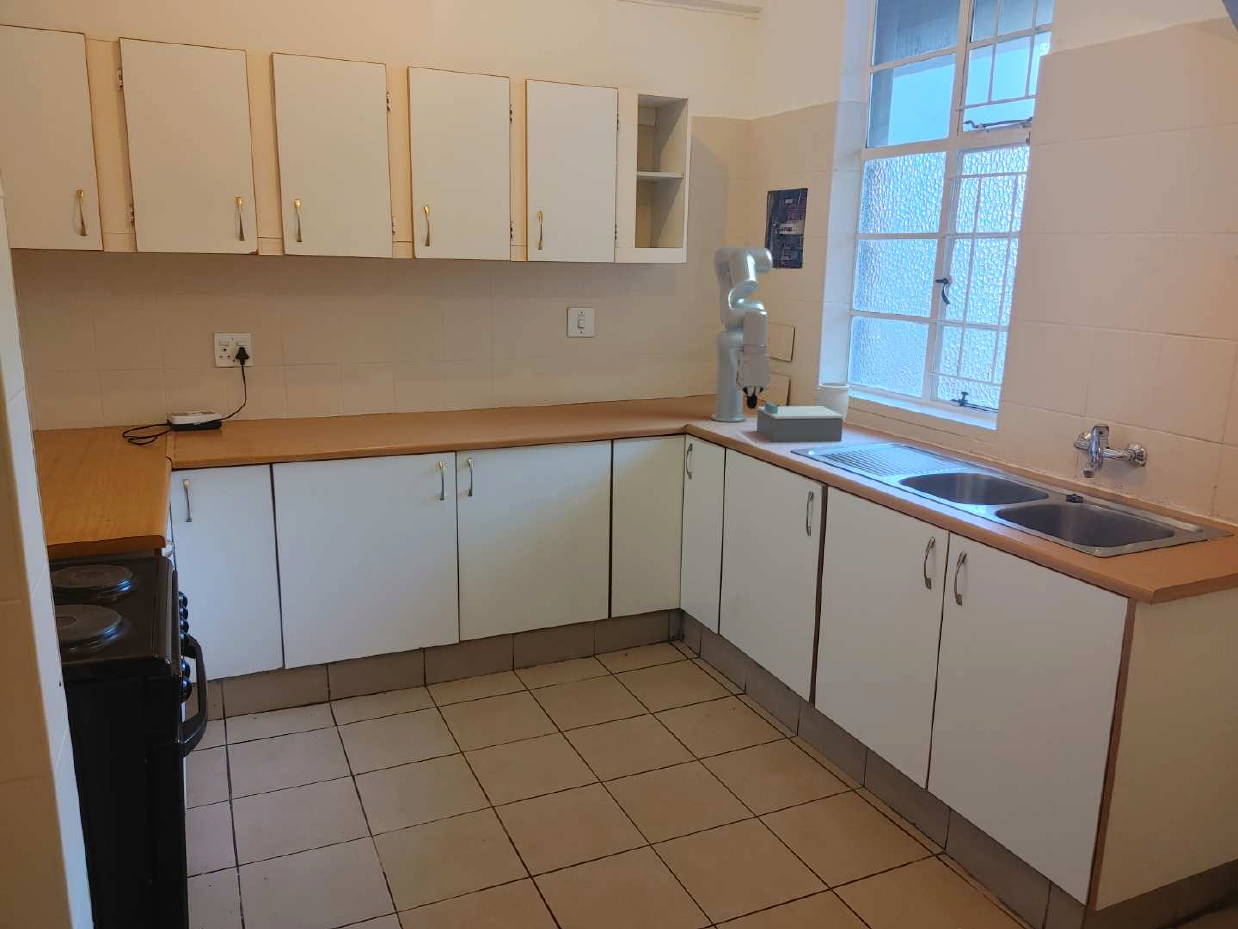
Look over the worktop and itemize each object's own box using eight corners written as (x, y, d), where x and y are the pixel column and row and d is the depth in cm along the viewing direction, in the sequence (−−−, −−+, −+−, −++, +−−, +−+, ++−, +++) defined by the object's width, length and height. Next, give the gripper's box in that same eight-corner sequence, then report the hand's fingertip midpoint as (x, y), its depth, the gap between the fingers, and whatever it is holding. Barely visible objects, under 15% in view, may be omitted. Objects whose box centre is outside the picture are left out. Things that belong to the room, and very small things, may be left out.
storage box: (756, 433, 303) (757, 410, 301) (820, 432, 306) (821, 409, 304) (773, 445, 285) (775, 420, 283) (841, 444, 289) (842, 419, 287)
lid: (757, 409, 301) (758, 399, 300) (821, 408, 304) (822, 398, 303) (775, 419, 283) (775, 408, 283) (842, 418, 287) (843, 408, 286)
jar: (847, 431, 309) (850, 387, 305) (815, 430, 311) (818, 386, 307) (846, 426, 319) (849, 383, 315) (815, 424, 321) (818, 381, 317)
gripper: (734, 351, 282) (731, 410, 286) (781, 351, 284) (778, 409, 288) (727, 348, 289) (725, 406, 293) (773, 348, 291) (770, 406, 295)
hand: (751, 408), depth 291 cm, fingers closed
